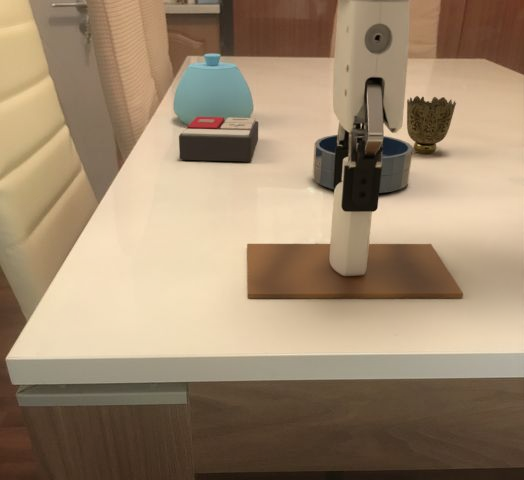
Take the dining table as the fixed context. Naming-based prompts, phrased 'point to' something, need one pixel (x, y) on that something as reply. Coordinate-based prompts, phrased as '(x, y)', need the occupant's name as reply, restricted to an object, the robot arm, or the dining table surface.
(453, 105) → the cup
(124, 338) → the dining table surface
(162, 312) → the dining table surface
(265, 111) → the dining table surface
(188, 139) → the dark flat box
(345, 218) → the eye dropper bottle
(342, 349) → the dining table surface
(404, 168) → the bowl
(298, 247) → the brown wooden board
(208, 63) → the sugar bowl
